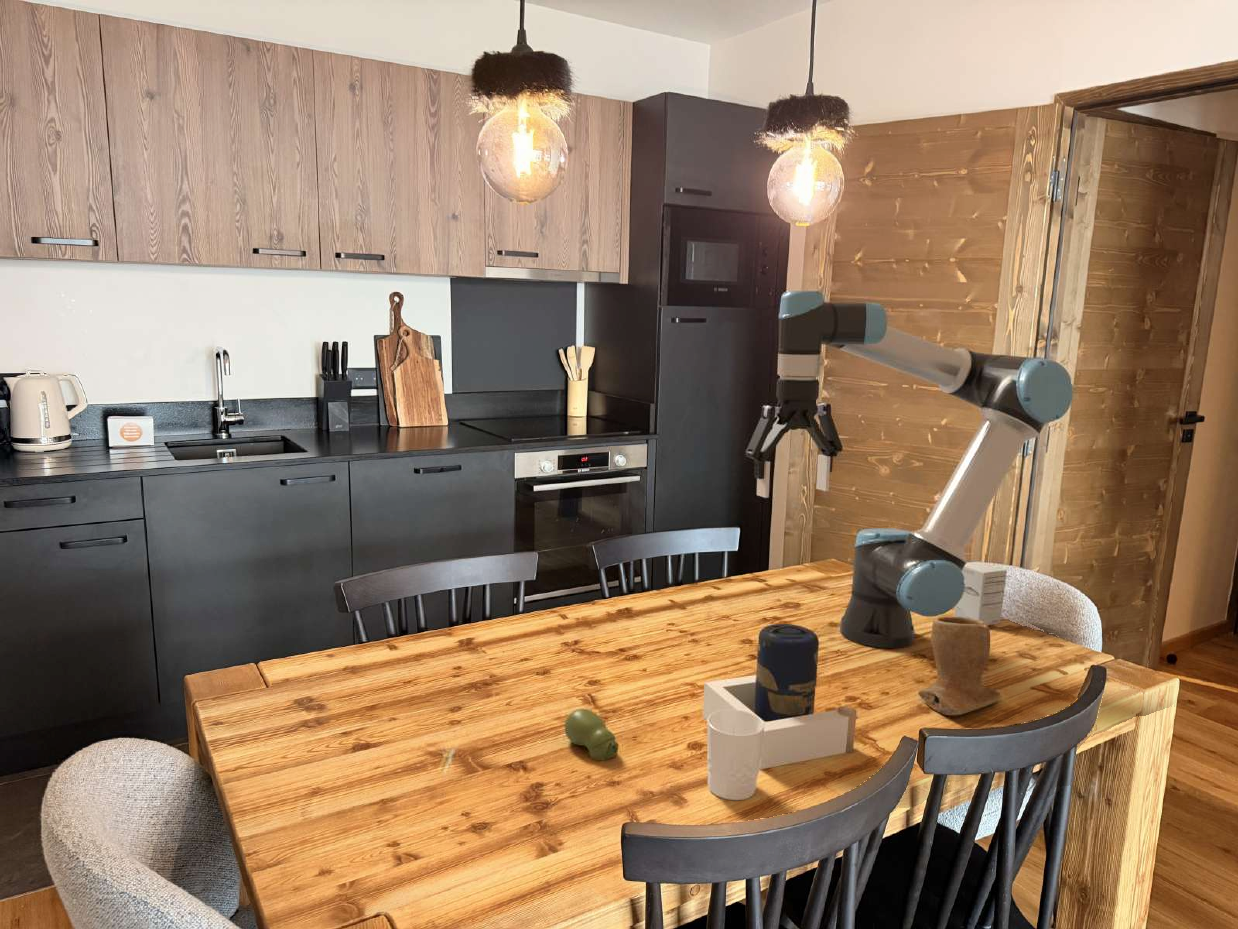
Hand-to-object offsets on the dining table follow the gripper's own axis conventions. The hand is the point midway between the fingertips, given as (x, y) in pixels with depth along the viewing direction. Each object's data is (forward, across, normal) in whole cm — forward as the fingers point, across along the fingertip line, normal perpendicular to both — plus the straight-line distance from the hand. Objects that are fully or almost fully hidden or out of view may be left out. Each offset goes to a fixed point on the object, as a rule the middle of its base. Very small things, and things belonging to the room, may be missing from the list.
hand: (793, 493), depth 160 cm
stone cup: (+35, -19, +24) cm, 46 cm away
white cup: (+34, +34, +32) cm, 57 cm away
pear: (+33, +47, +15) cm, 60 cm away
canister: (+34, +17, +21) cm, 43 cm away
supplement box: (+36, -58, -6) cm, 68 cm away
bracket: (+34, +17, +22) cm, 43 cm away
